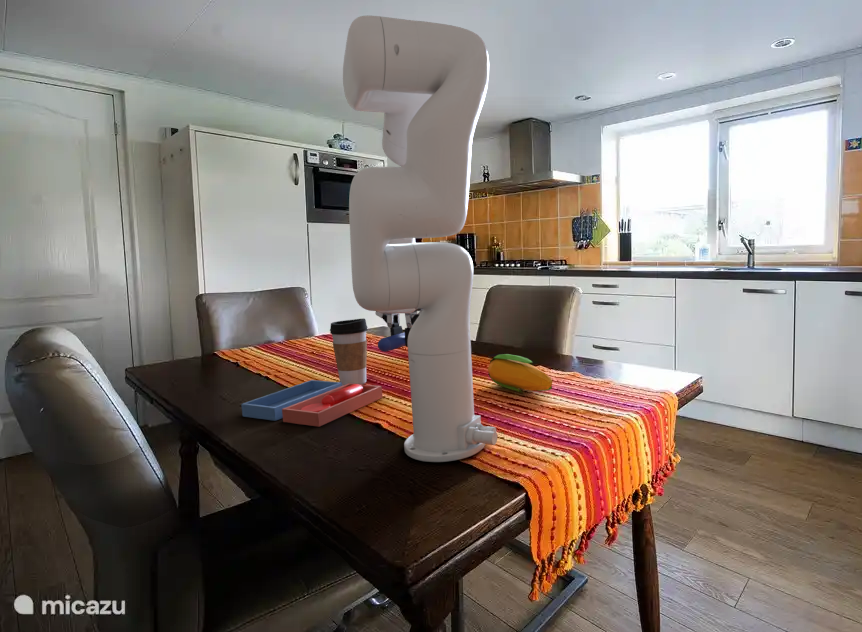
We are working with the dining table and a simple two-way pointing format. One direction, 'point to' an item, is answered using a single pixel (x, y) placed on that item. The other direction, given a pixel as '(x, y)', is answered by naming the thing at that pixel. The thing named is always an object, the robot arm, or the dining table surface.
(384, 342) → the blue spoon
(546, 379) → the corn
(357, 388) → the red spoon
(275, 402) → the blue tray
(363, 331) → the coffee cup
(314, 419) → the rose tray
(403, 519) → the dining table surface
